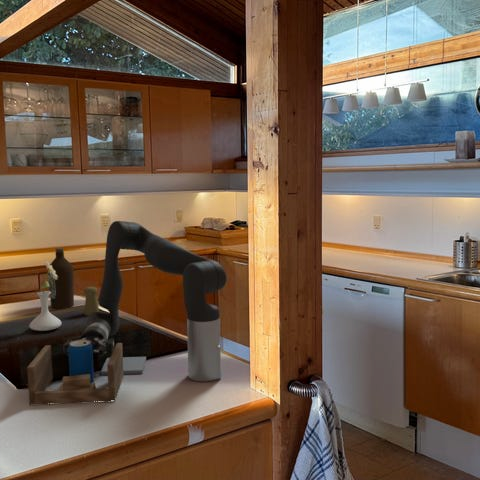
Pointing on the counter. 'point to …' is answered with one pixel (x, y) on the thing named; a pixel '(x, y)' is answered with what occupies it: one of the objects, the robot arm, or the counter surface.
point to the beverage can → (81, 358)
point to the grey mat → (128, 365)
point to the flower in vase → (45, 308)
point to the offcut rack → (43, 376)
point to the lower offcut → (79, 389)
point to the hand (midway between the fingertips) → (84, 353)
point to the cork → (91, 300)
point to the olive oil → (61, 282)
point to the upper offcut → (76, 382)
